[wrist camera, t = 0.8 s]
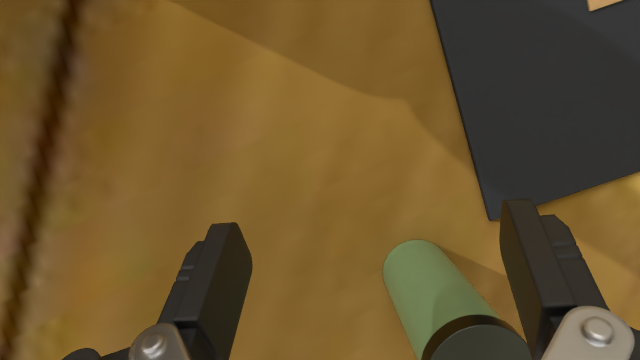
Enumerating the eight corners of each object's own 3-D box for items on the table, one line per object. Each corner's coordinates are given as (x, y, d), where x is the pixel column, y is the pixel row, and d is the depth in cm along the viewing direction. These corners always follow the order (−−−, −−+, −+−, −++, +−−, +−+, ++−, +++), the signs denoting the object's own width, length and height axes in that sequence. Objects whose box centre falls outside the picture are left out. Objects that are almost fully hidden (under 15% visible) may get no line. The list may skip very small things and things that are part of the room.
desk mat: (400, -109, 27) (402, -112, 27) (719, -222, 27) (725, -227, 26) (488, 219, 32) (490, 221, 31) (762, 128, 31) (768, 128, 31)
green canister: (371, 250, 32) (412, 345, 20) (439, 227, 32) (521, 310, 20) (392, 312, 33) (442, 437, 21) (458, 290, 33) (546, 404, 21)
